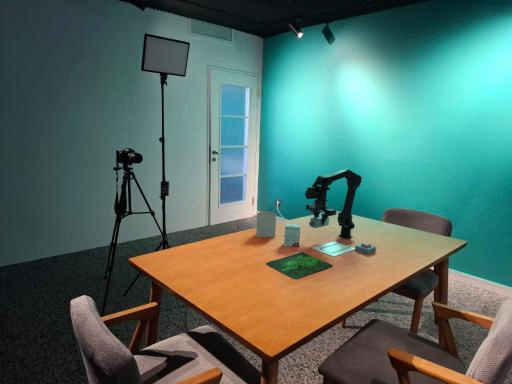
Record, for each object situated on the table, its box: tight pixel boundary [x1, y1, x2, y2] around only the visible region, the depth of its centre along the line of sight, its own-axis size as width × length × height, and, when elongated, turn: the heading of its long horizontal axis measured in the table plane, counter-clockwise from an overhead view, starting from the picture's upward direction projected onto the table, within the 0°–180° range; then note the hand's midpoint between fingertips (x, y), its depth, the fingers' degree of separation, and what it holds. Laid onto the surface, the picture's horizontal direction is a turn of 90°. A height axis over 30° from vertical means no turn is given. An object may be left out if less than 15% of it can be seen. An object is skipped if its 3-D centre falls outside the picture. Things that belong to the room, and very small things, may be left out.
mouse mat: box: [265, 251, 333, 280], centre depth 169 cm, size 27×22×1 cm
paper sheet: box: [312, 240, 355, 258], centre depth 192 cm, size 20×15×1 cm
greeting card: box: [255, 210, 277, 238], centre depth 207 cm, size 11×7×15 cm, turn 58°
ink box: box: [283, 223, 301, 248], centre depth 195 cm, size 9×5×12 cm, turn 84°
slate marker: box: [308, 215, 330, 229], centre depth 201 cm, size 14×4×5 cm, turn 129°
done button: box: [360, 241, 372, 248], centre depth 190 cm, size 4×4×3 cm
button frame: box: [354, 243, 377, 256], centre depth 191 cm, size 8×8×3 cm
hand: (319, 223), depth 202 cm, fingers closed on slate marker, 4 cm apart
